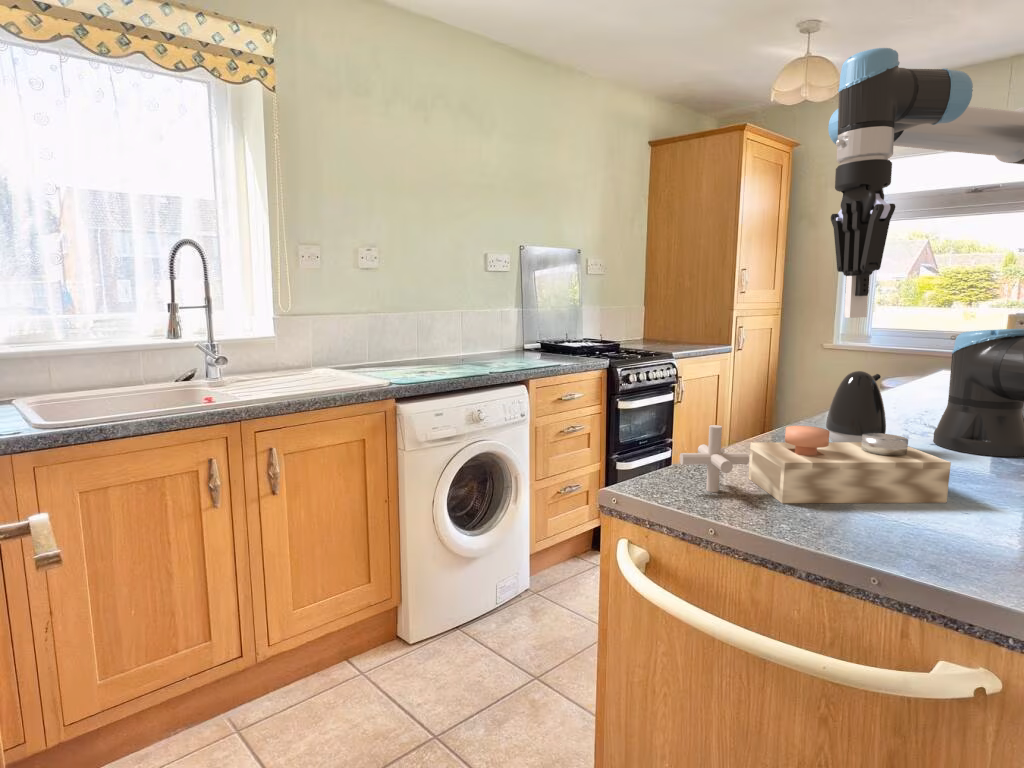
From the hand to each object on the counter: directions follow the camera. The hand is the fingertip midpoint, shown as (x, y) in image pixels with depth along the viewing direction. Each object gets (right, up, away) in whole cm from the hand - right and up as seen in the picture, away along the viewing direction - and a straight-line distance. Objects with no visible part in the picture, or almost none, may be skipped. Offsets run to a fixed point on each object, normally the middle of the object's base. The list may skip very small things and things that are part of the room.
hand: (855, 317), depth 97 cm
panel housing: (-4, -27, -3) cm, 27 cm away
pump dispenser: (+13, -23, +23) cm, 35 cm away
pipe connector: (-24, -27, -3) cm, 36 cm away
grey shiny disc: (+2, -26, -3) cm, 26 cm away
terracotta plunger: (-10, -25, -3) cm, 27 cm away
